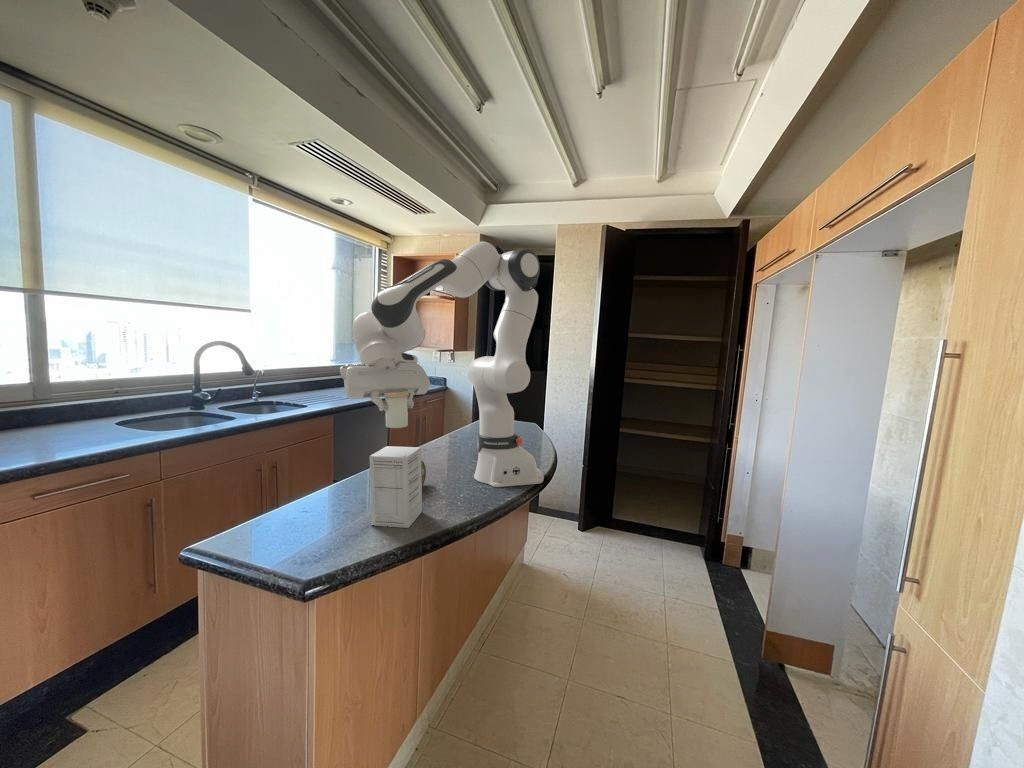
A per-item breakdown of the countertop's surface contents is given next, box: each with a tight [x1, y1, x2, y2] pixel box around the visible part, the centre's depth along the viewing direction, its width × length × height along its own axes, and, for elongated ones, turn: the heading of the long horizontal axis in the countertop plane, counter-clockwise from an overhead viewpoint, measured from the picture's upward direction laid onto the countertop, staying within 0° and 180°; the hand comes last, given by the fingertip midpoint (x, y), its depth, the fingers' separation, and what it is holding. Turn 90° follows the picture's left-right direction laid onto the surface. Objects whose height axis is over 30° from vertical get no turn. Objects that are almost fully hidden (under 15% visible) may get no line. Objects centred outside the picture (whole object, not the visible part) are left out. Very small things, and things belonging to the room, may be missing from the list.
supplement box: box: [369, 445, 423, 529], centre depth 91 cm, size 10×9×17 cm
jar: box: [384, 391, 409, 429], centre depth 89 cm, size 5×5×8 cm
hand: (397, 407), depth 89 cm, fingers closed on jar, 5 cm apart
